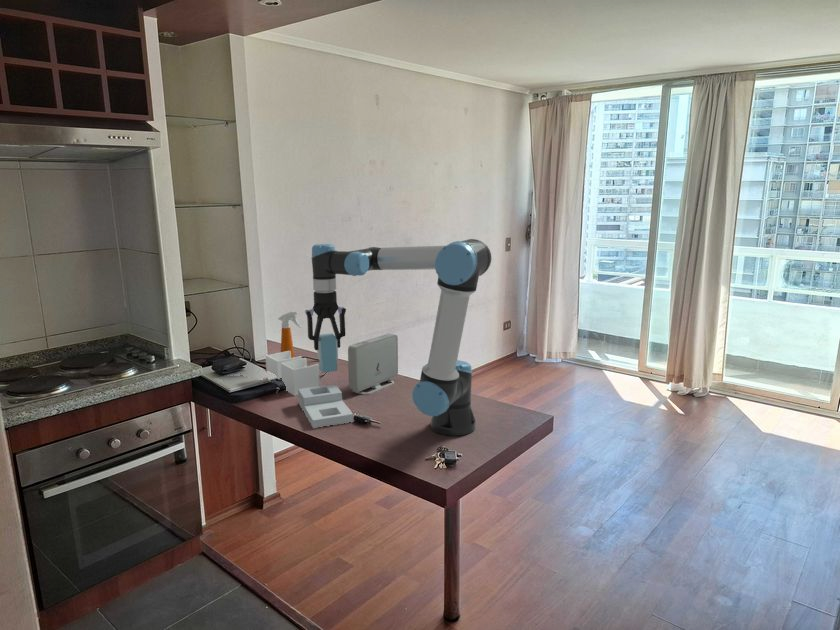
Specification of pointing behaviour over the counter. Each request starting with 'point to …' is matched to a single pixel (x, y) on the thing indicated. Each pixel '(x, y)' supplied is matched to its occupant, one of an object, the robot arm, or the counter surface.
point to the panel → (324, 406)
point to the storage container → (293, 371)
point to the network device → (373, 363)
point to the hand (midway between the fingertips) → (327, 357)
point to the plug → (328, 353)
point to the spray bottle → (288, 332)
